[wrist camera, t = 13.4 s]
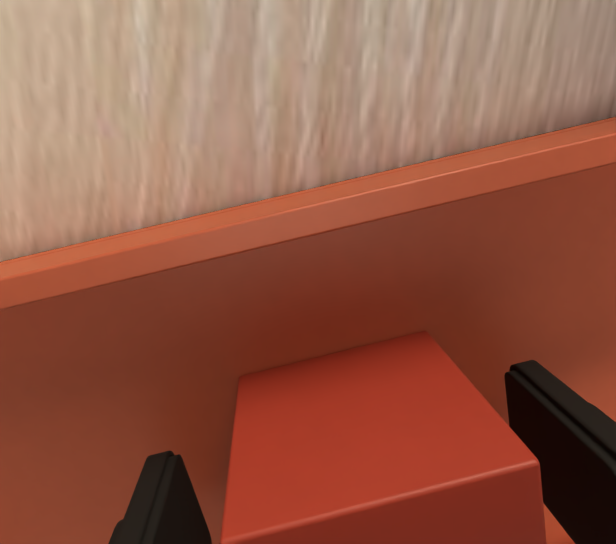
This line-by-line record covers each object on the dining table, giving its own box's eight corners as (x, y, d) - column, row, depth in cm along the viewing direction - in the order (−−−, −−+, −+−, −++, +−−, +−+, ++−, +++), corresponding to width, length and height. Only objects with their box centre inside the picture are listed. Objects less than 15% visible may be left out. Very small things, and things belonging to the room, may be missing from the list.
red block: (283, 525, 13) (294, 753, 8) (237, 375, 11) (217, 544, 7) (450, 482, 13) (560, 682, 8) (426, 328, 11) (542, 460, 7)
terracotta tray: (5, 685, 14) (-51, 801, 12) (-227, 315, 10) (-381, 368, 8) (745, 492, 15) (843, 563, 12) (782, 77, 11) (931, 57, 9)
